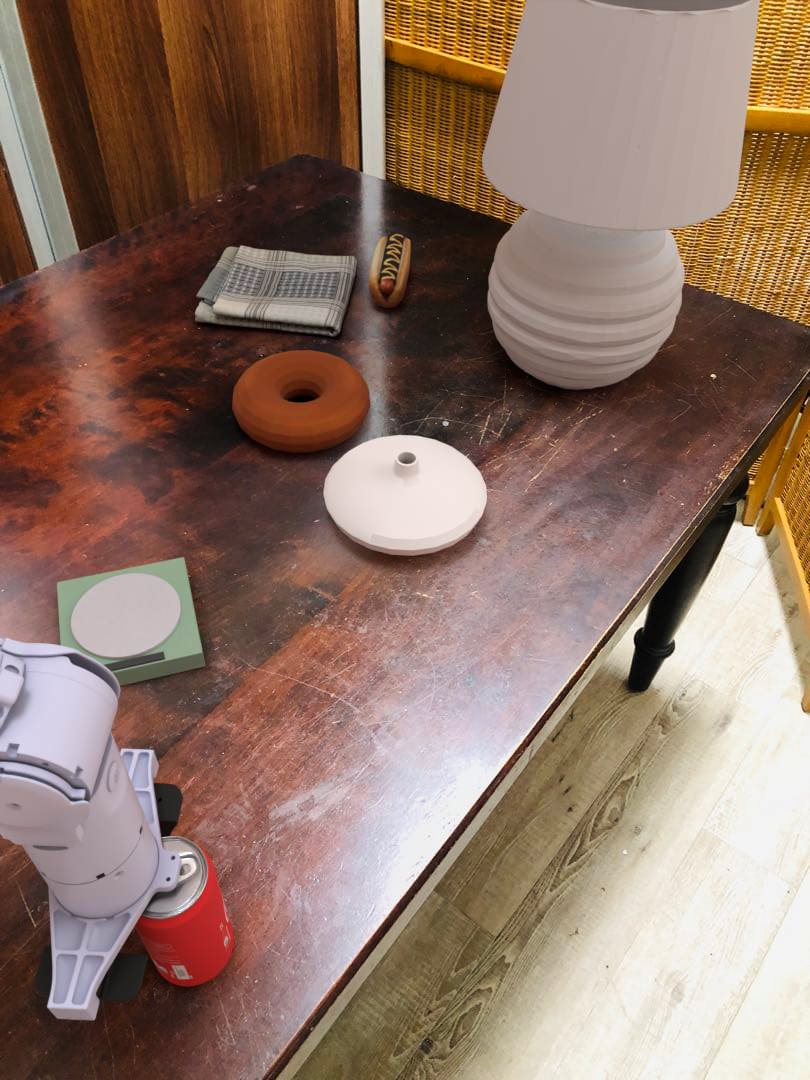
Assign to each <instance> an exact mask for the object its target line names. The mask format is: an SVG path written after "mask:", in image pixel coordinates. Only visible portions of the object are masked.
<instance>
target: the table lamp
mask: <svg viewBox="0 0 810 1080" xmlns="http://www.w3.org/2000/svg"><path fill="white" fill-rule="evenodd" d="M760 3H761V0H525V4H524V8H523V12H522V16H521V18H520V22H519V26H518V29H517V32H516V35H515V39H514V44H513V47H512V49H511V54H510V57H509V61H508V64H507V68H506V72H505V74H504V79H503V82H502V86H501V89H500V92H499V95H498V100H497V103H496V107H495V110H494V114H493V117H492V121H491V124H490V127H489V131H488V135H487V138H486V141H485V145H484V149H483V153H482V156H481V163H482V171H483V173H484V175H485V177H486V180H487V181H488V182H489V183H490V184H491V185H492V186H493V188H494V189H495V190H496V191H498V192H499V193H500V194H502V195H503V196H504V197H505V198H507V199H508V200H510V201H512V202H514V203H515V204H516V205H519V206H520V207H522V208H524V209H527V210H525V211H524V212H522V214H520V215H519V216H518V217H517V218H516V220H515V221H514V222H513V224H512V225H511V227H510V228H509V230H508V231H507V232H506V233H505V234H504V235H503V236H502V238H501V239H500V240H499V242H498V243H497V245H496V249H495V253H494V257H493V262H492V265H491V268H490V270H489V275H488V290H487V310H488V314H489V316H490V318H491V323H492V328H493V333H494V335H495V338H496V340H497V341H498V343H499V344H500V345H501V347H502V348H503V349H504V350H505V353H506V354H507V356H508V357H509V359H510V360H511V361H512V362H513V363H514V364H515V365H516V366H517V367H518V368H519V369H521V370H522V371H523V372H525V373H527V374H529V375H530V376H532V377H533V378H534V379H537V380H538V381H541V382H543V383H545V384H547V385H550V386H554V387H557V388H561V389H564V390H576V391H577V390H578V391H581V390H592V389H595V388H602V387H606V386H610V385H613V384H618V383H619V382H621V381H623V380H625V379H627V378H629V377H630V376H631V375H633V374H634V373H635V372H636V371H638V370H640V369H642V368H644V367H645V366H646V365H647V364H649V363H650V362H651V361H652V360H653V358H654V357H655V356H656V355H657V353H658V351H659V350H660V348H661V347H662V346H663V344H664V343H665V342H666V341H667V339H668V338H669V337H670V335H671V334H672V333H673V330H674V327H675V324H676V320H677V316H678V314H679V312H680V310H681V306H682V302H683V301H682V300H683V287H684V284H685V271H686V270H685V266H684V264H683V261H682V258H681V255H680V254H679V247H678V245H677V242H676V239H675V236H674V235H673V234H672V232H671V230H676V229H682V228H686V227H690V226H693V225H694V226H695V225H697V224H701V223H703V222H706V221H708V220H710V219H713V218H715V217H717V216H719V215H720V214H721V213H722V212H724V211H725V210H727V209H728V208H729V206H731V204H732V203H733V202H734V201H735V198H736V194H737V192H738V189H739V181H740V180H739V179H740V172H741V164H742V155H743V146H744V138H745V129H746V121H747V120H746V119H747V112H748V105H749V104H748V103H749V95H750V88H751V78H752V70H753V61H754V53H755V44H756V37H757V30H758V29H757V28H758V21H759V20H758V19H759V12H760Z"/></svg>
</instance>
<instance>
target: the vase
mask: <svg viewBox="0 0 810 1080" xmlns="http://www.w3.org/2000/svg"><path fill="white" fill-rule="evenodd" d="M487 491H488V489H487V485H486V482H485V480H484V478H483V475H482V473H481V471H480V470H479V469H478V467H476V465H475V464H474V463H473V462H472V460H470V458H469V457H467V456H466V455H465V454H463V453H462V452H460V451H458V450H457V449H456V448H455V447H453V446H451V445H449V444H446V443H444V442H443V441H439V440H437V439H434V438H429V437H424V436H420V435H409V434H408V435H405V434H396V435H395V434H394V435H388V436H381V437H376V438H373V439H370V440H368V441H365V442H362V443H361V444H358V445H357V446H355V447H353V448H351V449H350V450H347V452H345V453H344V454H343V455H342V456H341V457H340V458H339V459H338V460H336V462H335V463H333V465H332V466H331V468H330V470H329V471H328V473H327V475H326V477H325V479H324V486H323V498H324V502H325V507H326V510H327V512H328V514H329V515H330V517H331V519H332V520H333V521H334V523H335V524H336V526H337V528H338V529H339V531H340V532H342V533H343V534H345V536H347V537H348V538H349V539H350V540H352V541H353V542H355V543H356V544H359V545H361V546H364V547H365V548H367V549H369V550H371V551H375V552H379V553H383V554H387V555H390V556H391V555H392V556H412V557H413V556H419V555H427V554H432V553H433V554H434V553H436V552H439V551H441V550H444V549H447V548H449V547H452V546H454V545H456V544H457V543H458V542H460V541H461V540H462V539H464V538H466V537H467V536H468V535H469V534H470V533H471V531H472V530H474V528H475V526H476V525H477V524H478V522H479V521H480V520H481V518H482V517H483V514H484V511H485V509H486V505H487V503H488V495H487V494H488V493H487Z"/></svg>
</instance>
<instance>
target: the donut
mask: <svg viewBox="0 0 810 1080" xmlns="http://www.w3.org/2000/svg"><path fill="white" fill-rule="evenodd" d="M298 398H310V399H313V400H309V401H306V402H295V401H290V400H292V399H298ZM231 403H232V405H231V409H232V411H233V414H234V417H235V419H236V421H237V423H238V426H239V427H240V429H241V430H242V431H243V432H245V434H247V435H248V436H249V437H250V438H251V439H252V440H254V442H257V443H258V444H260V445H263V446H265V447H267V448H270V449H272V450H276V451H282V452H286V453H291V454H298V453H300V454H301V453H315V452H319V451H325V450H327V449H332V448H334V447H336V446H338V445H340V444H341V443H343V442H345V441H347V440H348V439H350V438H351V437H352V436H353V435H354V434H355V433H356V432H357V431H359V429H360V428H361V427H362V426H363V425H364V423H365V421H366V419H367V416H368V414H369V412H370V408H371V396H370V388H369V385H368V383H367V381H366V380H365V378H364V377H363V375H362V373H361V372H360V371H359V370H358V369H357V368H356V367H355V366H353V364H350V363H349V362H348V361H346V360H345V359H343V358H341V357H338V356H336V355H334V354H332V353H331V354H330V353H328V352H322V351H317V350H311V349H307V350H305V349H304V350H288V351H283V352H279V353H274V354H270V355H268V356H267V357H264V358H261V359H259V360H257V361H256V362H254V363H253V364H252V365H251V366H250V367H248V368H247V369H246V370H244V372H243V373H242V374H241V376H240V377H239V379H238V381H236V384H235V385H234V387H233V393H232V402H231Z"/></svg>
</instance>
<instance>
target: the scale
mask: <svg viewBox="0 0 810 1080" xmlns="http://www.w3.org/2000/svg"><path fill="white" fill-rule="evenodd" d="M56 594H57V595H56V597H57V612H58V628H59V645H61V646H65V647H69V648H73V649H76V650H78V651H80V652H81V653H83V654H85V655H87V656H89V657H91V658H93V659H95V660H96V661H98V662H100V663H101V664H103V665H104V666H105V667H107V668H108V669H109V670H110V671H111V672H112V673H113V674H114V676H115V677H116V679H117V680H118V682H119V685H120V687H121V686H127V685H131V684H134V683H139V682H144V681H148V680H152V679H157V678H161V677H167V676H171V675H175V674H179V673H182V672H186V671H191V670H196V669H200V668H205V667H206V665H207V664H206V661H205V655H204V650H203V645H202V640H201V633H200V629H199V625H198V624H199V623H198V620H197V615H196V610H195V609H196V608H195V603H194V599H193V598H194V597H193V594H192V588H191V582H190V578H189V572H188V568H187V564H186V559H185V557H184V556H182V557H176V558H173V559H167V560H161V561H157V562H156V561H155V562H151V563H147V564H143V565H137V566H132V567H126V568H123V569H117V570H113V571H106V572H102V573H98V574H92V575H86V576H81V577H78V578H72V579H66V580H63V581H57V582H56Z"/></svg>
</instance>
